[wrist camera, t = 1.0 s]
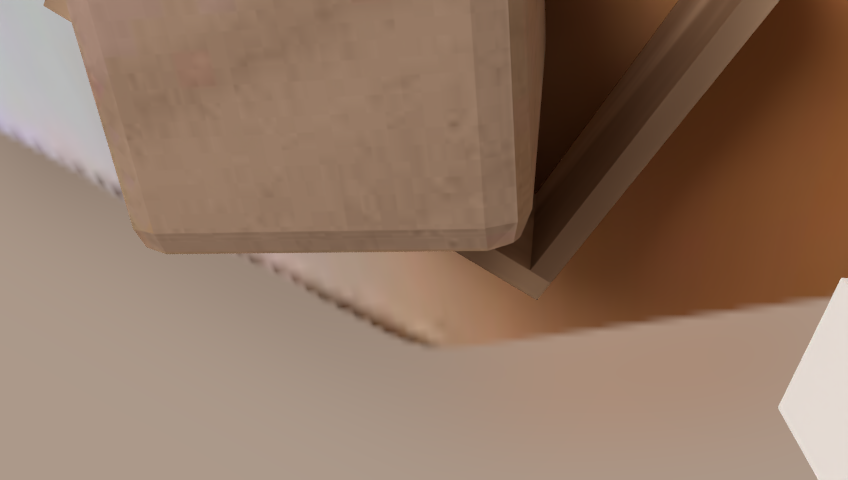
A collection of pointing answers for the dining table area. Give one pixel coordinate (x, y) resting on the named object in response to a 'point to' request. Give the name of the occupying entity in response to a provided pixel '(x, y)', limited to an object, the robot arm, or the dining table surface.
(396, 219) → the block
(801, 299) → the dining table surface
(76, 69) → the dining table surface
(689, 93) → the bracket
